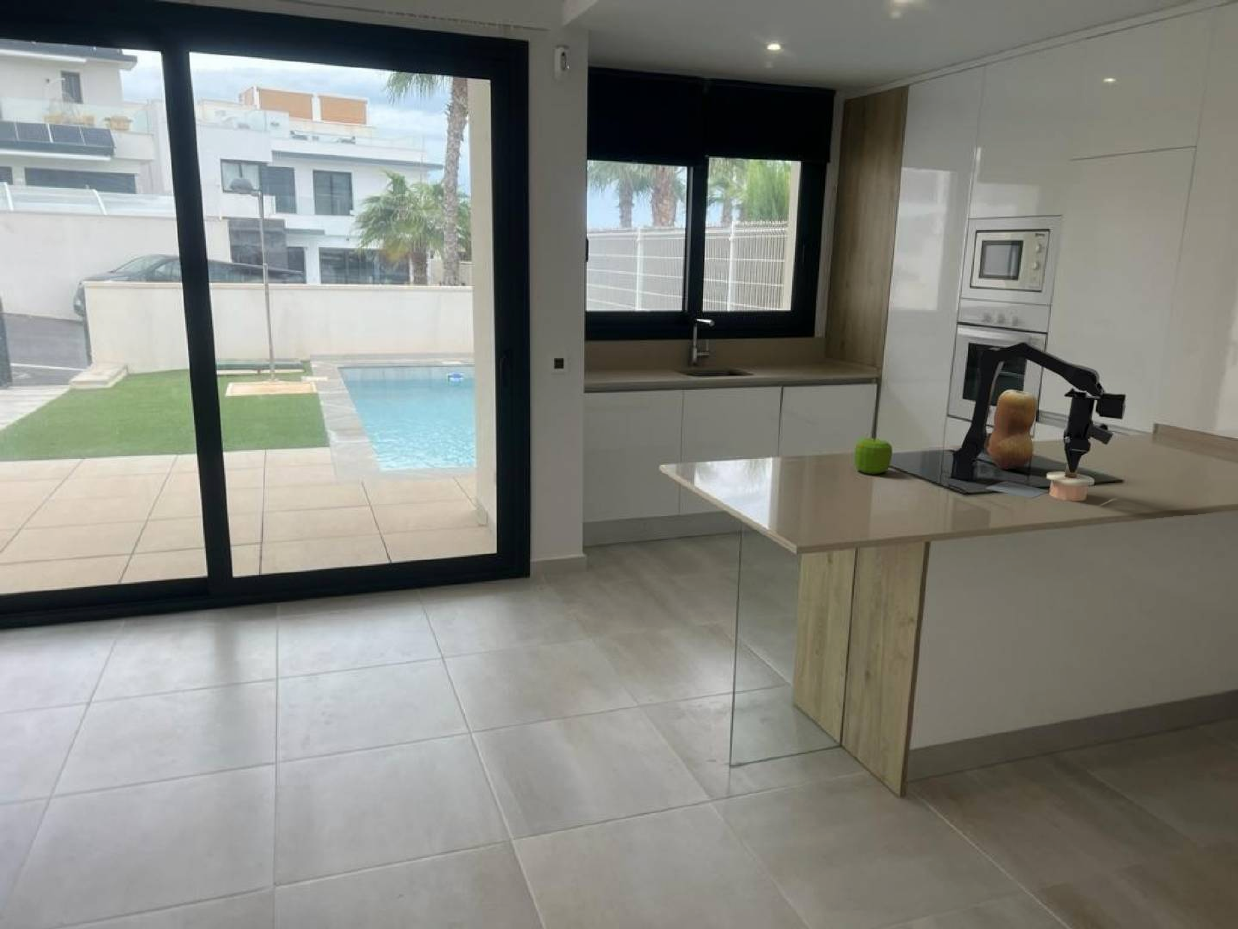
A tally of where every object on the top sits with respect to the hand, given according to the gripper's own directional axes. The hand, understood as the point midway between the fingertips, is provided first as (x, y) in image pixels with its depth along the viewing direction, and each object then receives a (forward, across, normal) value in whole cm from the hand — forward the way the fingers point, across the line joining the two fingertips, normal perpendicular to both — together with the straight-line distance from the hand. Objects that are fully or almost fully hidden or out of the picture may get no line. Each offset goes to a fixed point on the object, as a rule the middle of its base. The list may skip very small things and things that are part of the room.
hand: (1071, 469), depth 249 cm
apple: (+9, -1, +54) cm, 55 cm away
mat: (+8, 0, +13) cm, 15 cm away
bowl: (+8, 0, 0) cm, 8 cm away
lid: (+3, 0, 0) cm, 3 cm away
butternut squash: (+8, +27, +17) cm, 33 cm away
